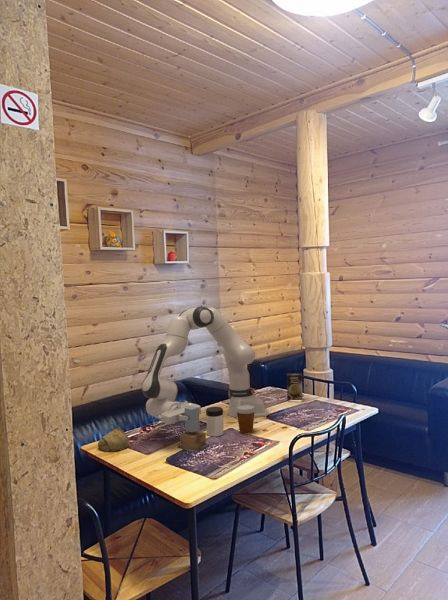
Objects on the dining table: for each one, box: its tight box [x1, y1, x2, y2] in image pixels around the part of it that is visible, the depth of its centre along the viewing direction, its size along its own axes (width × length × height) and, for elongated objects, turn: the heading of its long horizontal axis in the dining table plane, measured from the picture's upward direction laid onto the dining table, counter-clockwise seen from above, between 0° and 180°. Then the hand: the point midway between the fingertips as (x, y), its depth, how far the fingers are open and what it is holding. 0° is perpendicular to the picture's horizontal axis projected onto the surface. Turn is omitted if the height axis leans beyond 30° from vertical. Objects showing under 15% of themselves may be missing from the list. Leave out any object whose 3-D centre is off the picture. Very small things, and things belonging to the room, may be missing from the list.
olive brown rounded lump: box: [97, 428, 131, 452], centre depth 199 cm, size 14×12×8 cm
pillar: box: [184, 406, 201, 432], centre depth 196 cm, size 4×4×10 cm
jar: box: [205, 406, 225, 438], centre depth 212 cm, size 9×8×12 cm
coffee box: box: [286, 372, 304, 401], centre depth 264 cm, size 9×6×16 cm
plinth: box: [176, 430, 210, 454], centre depth 196 cm, size 10×10×6 cm
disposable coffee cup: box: [236, 405, 255, 435], centre depth 213 cm, size 10×10×12 cm
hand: (193, 416), depth 195 cm, fingers closed on pillar, 4 cm apart
